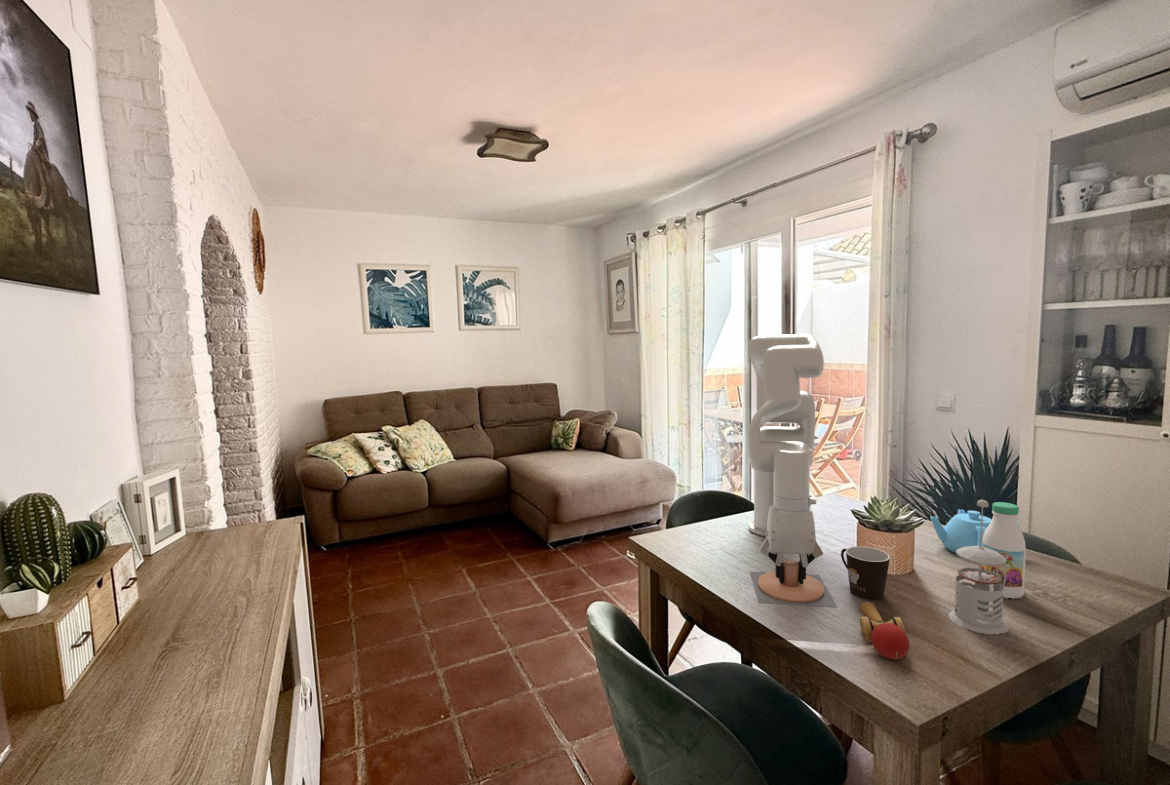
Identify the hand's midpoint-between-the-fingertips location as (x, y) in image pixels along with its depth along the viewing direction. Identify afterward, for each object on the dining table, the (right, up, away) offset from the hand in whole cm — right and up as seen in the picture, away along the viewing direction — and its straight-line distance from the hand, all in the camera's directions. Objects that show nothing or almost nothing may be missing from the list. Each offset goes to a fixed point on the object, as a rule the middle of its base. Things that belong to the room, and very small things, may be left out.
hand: (790, 580), depth 122 cm
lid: (0, -2, 0) cm, 2 cm away
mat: (0, -3, 0) cm, 3 cm away
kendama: (+10, -5, -19) cm, 22 cm away
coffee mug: (+16, -3, -2) cm, 16 cm away
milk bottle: (+46, -2, -2) cm, 46 cm away
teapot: (+57, 0, +21) cm, 61 cm away
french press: (+33, -3, -14) cm, 36 cm away
